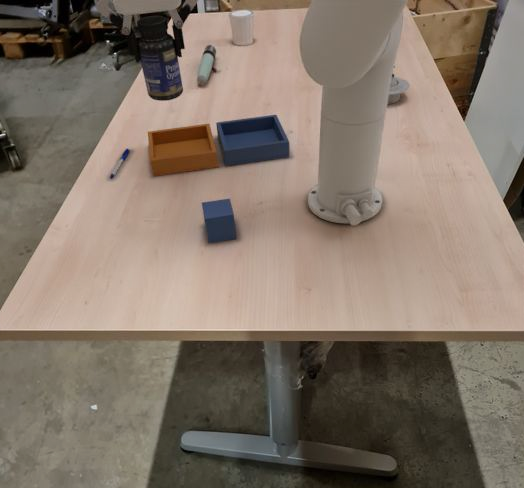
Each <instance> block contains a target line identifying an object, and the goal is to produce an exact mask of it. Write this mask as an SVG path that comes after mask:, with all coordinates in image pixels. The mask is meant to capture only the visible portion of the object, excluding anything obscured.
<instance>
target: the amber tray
mask: <svg viewBox="0 0 524 488" xmlns="http://www.w3.org/2000/svg"><path fill="white" fill-rule="evenodd" d="M147 139H148V152H149V157H148V158H149V164H150V168H151V172H152V176H153V177H158V176H165V175H171V174H179V173H187V172H193V171H200V170H207V169H215V168H219V159H218V152H217V147H216V143H215V140H214V135H213V132H212V129H211V124H210V123H201V124H197V125H196V124H195V125H188V126H179V127H172V128H164V129H158V130H150V131H147Z"/></svg>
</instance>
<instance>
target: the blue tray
mask: <svg viewBox="0 0 524 488" xmlns="http://www.w3.org/2000/svg"><path fill="white" fill-rule="evenodd" d="M215 125H216V133H217V138H218V142H219V147H220V149H221V154H222V158H223V161H224V164H225V166H226V167H229V166H235V165H243V164H248V163H255V162H263V161H270V160H277V159H285V158H290V140H289V138H288V136H287V134H286V132H285V129H284V128H283V126H282V123H281V121H280V120H279V117H278V115H277V114H270V115H262V116H255V117H254V116H253V117H248V118H240V119H233V120H225V121H224V120H223V121H218V122H217V121H216V122H215Z"/></svg>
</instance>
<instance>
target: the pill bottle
mask: <svg viewBox="0 0 524 488" xmlns="http://www.w3.org/2000/svg"><path fill="white" fill-rule="evenodd" d="M168 24H169V23H168V19H167V17H165V16H162V15H150V16H144V17H141V18H139V19H138V20H137V21H136V26H137V31H138V33H140V37H139V38H138V41H137V47H138V51H139V56H140V64H141V67H142V68H141V70H142V73H143V78H144V82H145V87H146V91H147V95H148V97H149V98H150V99H152V100H154V101H162V102H163V101H164V102H166V101H172V100H175V99H177V98H180V97H181V95H183V93H184V86H183V81H182V74H181V69H180V63H179V57H178V56H177V51H176V45H175V40H174V36H172V35H171V34H170V33H169V32H168V29H169V25H168Z"/></svg>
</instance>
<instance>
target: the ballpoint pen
mask: <svg viewBox="0 0 524 488" xmlns="http://www.w3.org/2000/svg"><path fill="white" fill-rule="evenodd" d="M129 153H130V149H128V148H126V149H125V150H124V151H123V152H122V154H121V157H120V159H119V160H118V162H117V164H116V165H115V166H114V168H113V170H112V172H111V173H110V176H109V178H110V179H113V178H114V177H115V176H116V174H117V172H118V171H119V169H120V168H121V166H122V164H123V163H124V161H125V160H126V158H127V157H128V156H129Z"/></svg>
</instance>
